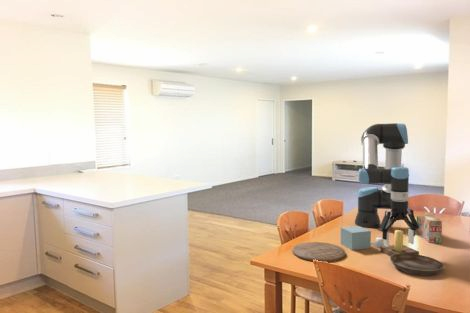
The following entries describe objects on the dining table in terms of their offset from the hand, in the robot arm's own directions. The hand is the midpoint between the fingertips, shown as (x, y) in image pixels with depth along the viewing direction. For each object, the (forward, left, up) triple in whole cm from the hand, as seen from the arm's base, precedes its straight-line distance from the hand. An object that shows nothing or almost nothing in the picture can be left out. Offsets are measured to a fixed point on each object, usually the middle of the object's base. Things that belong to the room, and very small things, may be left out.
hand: (398, 244), depth 175 cm
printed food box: (-21, +36, -6) cm, 42 cm away
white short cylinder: (-16, +2, -5) cm, 17 cm away
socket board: (-2, +2, -5) cm, 6 cm away
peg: (0, 0, -5) cm, 5 cm away
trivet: (-15, -34, -6) cm, 38 cm away
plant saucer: (+15, -3, -6) cm, 16 cm away
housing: (-19, -11, -5) cm, 23 cm away
